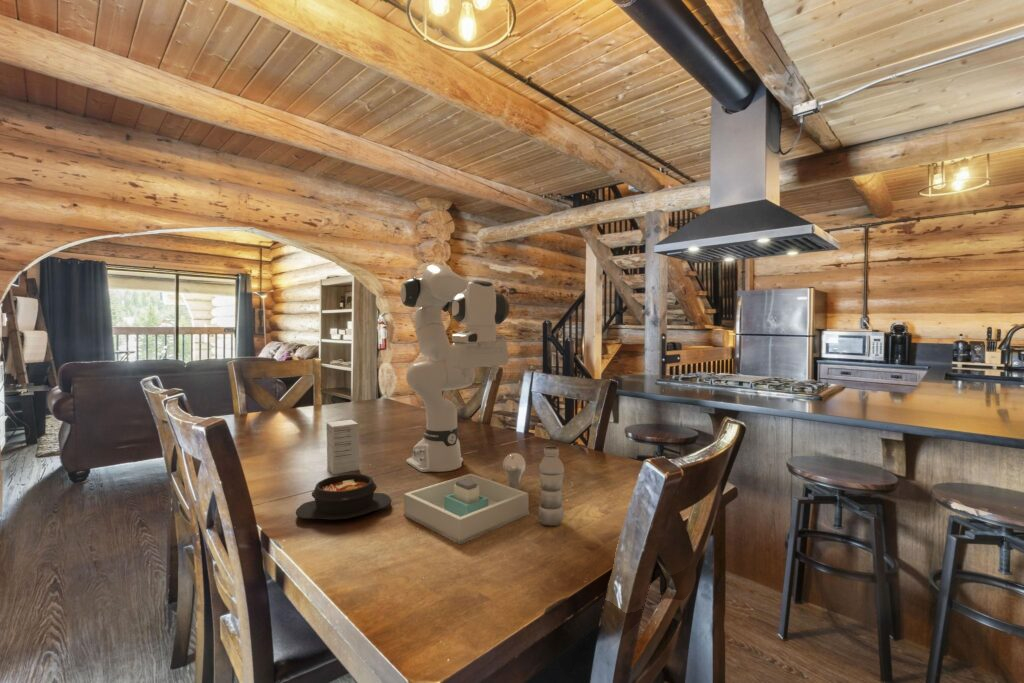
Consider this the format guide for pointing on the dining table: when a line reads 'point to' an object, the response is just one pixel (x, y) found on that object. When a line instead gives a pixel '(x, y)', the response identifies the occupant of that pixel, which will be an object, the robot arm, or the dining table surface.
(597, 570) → the dining table surface
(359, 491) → the casserole
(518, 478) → the light bulb
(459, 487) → the grey-topped white block
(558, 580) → the dining table surface
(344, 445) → the supplement box
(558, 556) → the dining table surface
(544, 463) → the plastic bottle
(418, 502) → the walled box
